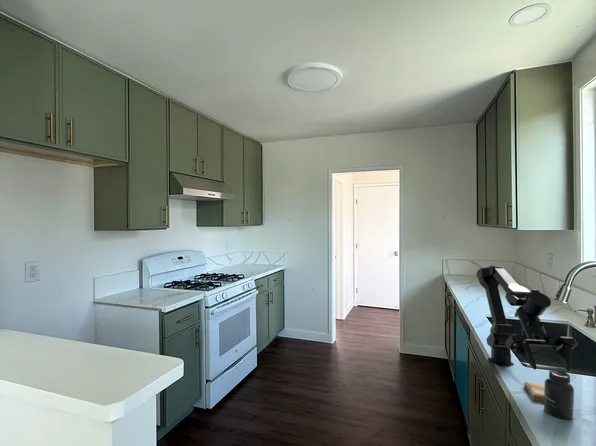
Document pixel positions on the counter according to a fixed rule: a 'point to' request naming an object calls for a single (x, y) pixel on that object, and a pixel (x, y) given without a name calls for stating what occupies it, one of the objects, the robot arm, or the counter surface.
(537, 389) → the square wooden coaster
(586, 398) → the counter surface
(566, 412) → the supplement bottle
